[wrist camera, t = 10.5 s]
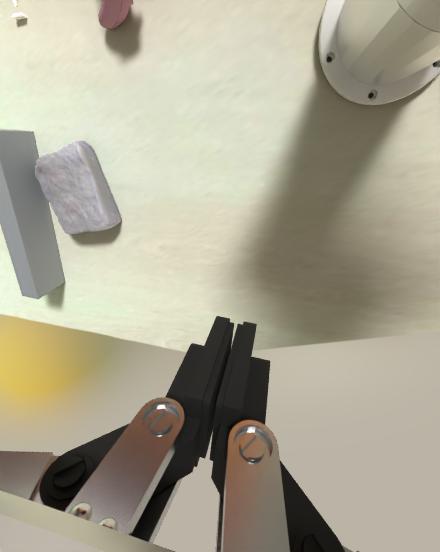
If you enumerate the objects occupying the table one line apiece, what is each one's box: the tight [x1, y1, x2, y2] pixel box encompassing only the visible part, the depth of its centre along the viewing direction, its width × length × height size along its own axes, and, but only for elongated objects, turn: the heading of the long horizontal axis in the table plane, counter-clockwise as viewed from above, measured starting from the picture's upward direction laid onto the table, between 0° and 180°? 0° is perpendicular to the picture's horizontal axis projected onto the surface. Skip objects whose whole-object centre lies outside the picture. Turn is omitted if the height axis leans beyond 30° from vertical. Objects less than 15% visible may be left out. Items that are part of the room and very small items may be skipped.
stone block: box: [35, 141, 122, 235], centre depth 39 cm, size 12×5×10 cm
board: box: [0, 129, 65, 299], centre depth 41 cm, size 24×3×6 cm, turn 175°
